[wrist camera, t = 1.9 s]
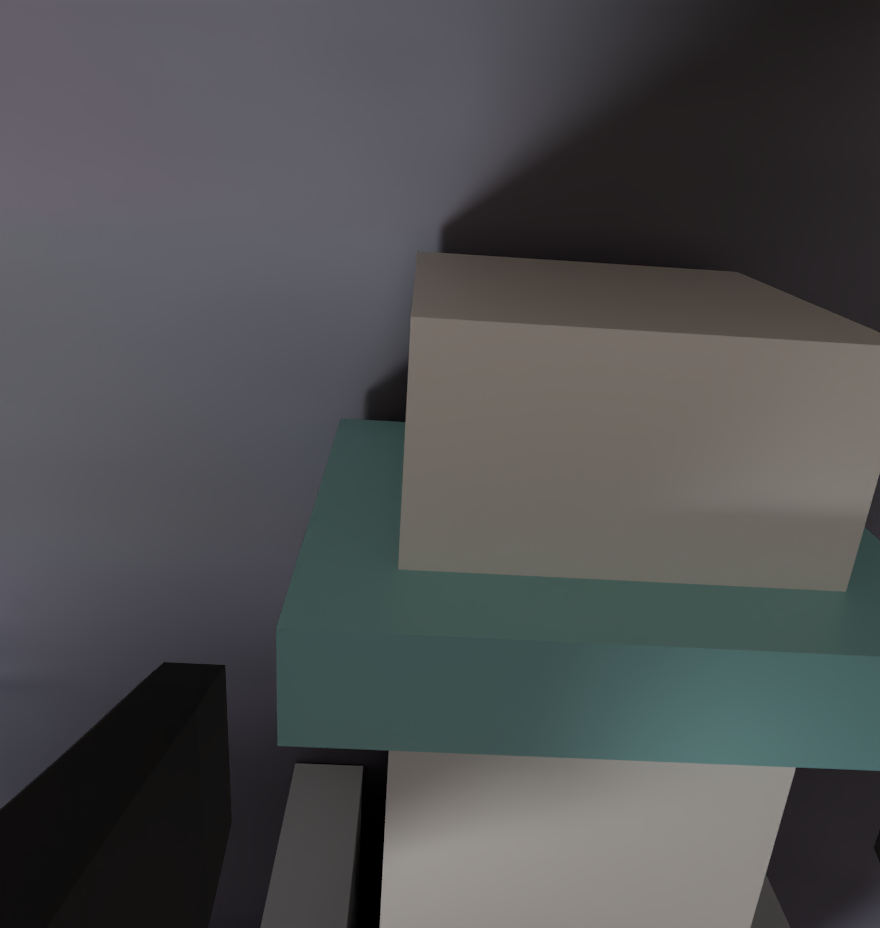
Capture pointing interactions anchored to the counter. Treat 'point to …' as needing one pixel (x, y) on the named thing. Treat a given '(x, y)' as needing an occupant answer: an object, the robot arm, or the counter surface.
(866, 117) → the counter surface
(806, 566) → the white bar teal band
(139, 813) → the robot arm
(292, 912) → the sleeve
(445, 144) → the counter surface
